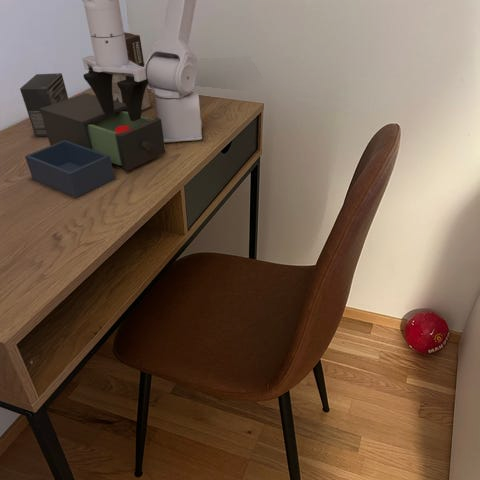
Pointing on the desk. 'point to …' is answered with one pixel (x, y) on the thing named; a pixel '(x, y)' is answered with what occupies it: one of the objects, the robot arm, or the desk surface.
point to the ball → (122, 129)
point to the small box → (42, 97)
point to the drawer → (127, 139)
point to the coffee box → (136, 57)
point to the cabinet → (74, 118)
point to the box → (70, 168)
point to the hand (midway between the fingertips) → (122, 115)
